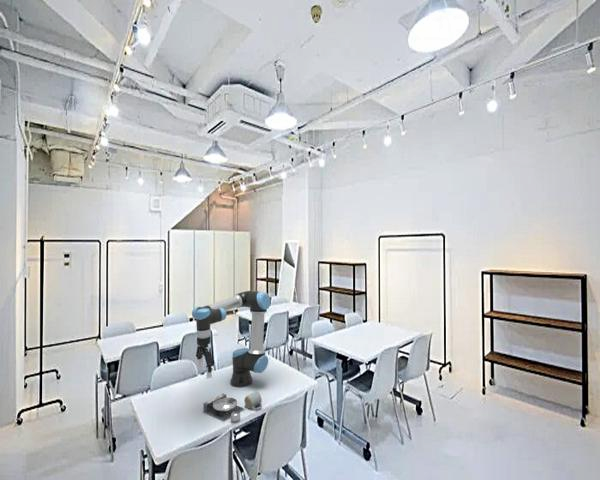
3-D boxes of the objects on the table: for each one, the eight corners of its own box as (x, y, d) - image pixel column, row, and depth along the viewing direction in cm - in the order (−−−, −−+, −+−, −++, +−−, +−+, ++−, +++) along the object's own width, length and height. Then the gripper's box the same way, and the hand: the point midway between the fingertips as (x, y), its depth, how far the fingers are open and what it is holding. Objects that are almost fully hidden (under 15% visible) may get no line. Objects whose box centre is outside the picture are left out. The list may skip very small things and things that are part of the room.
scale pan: (226, 399, 202) (226, 395, 202) (242, 406, 194) (242, 401, 194) (207, 409, 191) (207, 404, 191) (223, 417, 183) (223, 412, 183)
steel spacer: (235, 417, 186) (235, 410, 186) (242, 419, 183) (241, 412, 183) (229, 421, 182) (229, 414, 182) (235, 424, 179) (235, 416, 179)
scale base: (223, 401, 205) (223, 392, 205) (243, 409, 194) (243, 400, 194) (203, 411, 193) (203, 402, 193) (223, 421, 182) (223, 411, 182)
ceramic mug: (243, 406, 198) (243, 393, 198) (254, 401, 204) (254, 389, 204) (254, 413, 191) (254, 400, 190) (265, 407, 196) (265, 395, 196)
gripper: (189, 333, 194) (190, 368, 194) (205, 343, 174) (206, 383, 174) (202, 330, 198) (202, 365, 199) (218, 340, 179) (219, 379, 179)
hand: (204, 373), depth 186 cm, fingers open, 13 cm apart
